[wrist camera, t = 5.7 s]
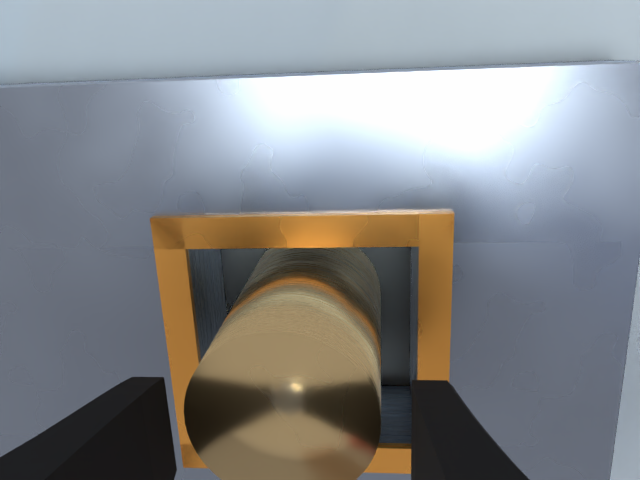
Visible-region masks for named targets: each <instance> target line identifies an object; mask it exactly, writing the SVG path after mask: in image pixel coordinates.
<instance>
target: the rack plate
mask: <svg viewBox="0 0 640 480" xmlns="http://www.w3.org/2000/svg"><path fill="white" fill-rule="evenodd" d="M337 247H411V303H410V386H381V434H380V439H379V444H378V447H377V450H376V453H375V455H374V457H373V459H372V461H371V463H370V464H369V466H368V467H367V468H366V470H365V471H364V472H363V473H362V474H361V475H360V476H359V477H358V478H357V479H356V480H411V423H412V380H447V381H448V382H449V383H450V384H451V385H452V386H453V387H454V389H455V390H456V392H457V393H458V394H459V396H460V397H461V399H462V400H463V401H464V403H465V404H466V406H467V407H468V408H469V410H470V411H471V412H472V414H473V415H474V416H475V417H476V419H477V420H478V421H479V423H480V424H481V425H482V426H483V428H484V429H485V430H486V431H487V432H488V434H489V435H490V436H491V437H492V438H493V440H494V441H495V442H496V443H497V444H498V445H499V446H500V448H501V449H502V450H503V451H504V452H505V453H506V455H507V456H508V457H509V458H510V459H511V460H512V461H513V462H514V463H515V465H516V466H517V467H518V468H519V469H520V470H521V471H522V472H523V473H524V474H525V475H526V476H527V477H528V478H529V479H530V480H610V473H611V466H612V459H613V451H614V444H615V436H616V429H617V421H618V414H619V406H620V399H621V392H622V384H623V377H624V369H625V362H626V354H627V347H628V339H629V332H630V325H631V317H632V310H633V302H634V295H635V287H636V280H637V272H638V265H639V258H640V61H625V60H604V61H579V62H554V63H528V64H503V65H478V66H453V67H427V68H402V69H377V70H352V71H326V72H301V73H276V74H251V75H226V76H200V77H175V78H150V79H125V80H99V81H74V82H49V83H24V84H0V457H1V456H3V455H5V454H6V453H8V452H10V451H12V450H13V449H15V448H17V447H18V446H20V445H22V444H23V443H25V442H27V441H29V440H30V439H32V438H34V437H35V436H37V435H39V434H40V433H42V432H43V431H45V430H47V429H48V428H50V427H51V426H53V425H54V424H56V423H58V422H59V421H61V420H62V419H64V418H65V417H67V416H69V415H70V414H72V413H73V412H75V411H76V410H78V409H80V408H81V407H83V406H84V405H86V404H87V403H89V402H91V401H92V400H94V399H95V398H97V397H98V396H100V395H102V394H103V393H105V392H106V391H108V390H110V389H111V388H113V387H115V386H116V385H118V384H120V383H121V382H123V381H125V380H127V379H129V378H131V377H164V380H165V387H166V394H167V401H168V409H169V416H170V423H171V430H172V437H173V445H174V452H175V459H176V466H177V472H176V475H175V478H174V480H221V479H220V478H219V477H218V476H216V475H215V474H214V473H213V472H212V471H211V470H210V469H209V468H208V467H207V466H206V465H205V464H204V463H203V461H202V460H201V458H200V457H199V456H198V454H197V453H196V451H195V449H194V447H193V445H192V444H191V441H190V439H189V436H188V434H187V430H186V425H185V420H184V399H185V395H186V390H187V387H188V384H189V382H190V379H191V377H192V376H193V374H194V372H195V370H196V369H197V367H198V365H199V363H200V362H201V360H202V358H203V357H204V355H205V353H206V351H207V350H208V348H209V346H210V344H211V343H212V341H213V339H214V338H215V336H216V334H217V332H218V331H219V329H220V327H221V326H222V324H223V322H224V320H225V319H226V317H227V311H226V301H225V291H224V281H223V270H222V260H221V250H220V249H240V248H337Z"/></svg>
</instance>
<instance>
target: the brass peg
mask: <svg viewBox="0 0 640 480" xmlns="http://www.w3.org/2000/svg"><path fill="white" fill-rule="evenodd" d="M184 420H185V425H186V430H187V434H188V436H189V439H190V441H191V444H192V445H193V447H194V449H195V451H196V453H197V454H198V456H199V457H200V458H201V460H202V461H203V463H204V464H205V465H206V466H207V467H208V468H209V469H210V470H211V471H212V472H213V473H214V474H215V475H216V476H218V477H219V478H220V479H221V480H356V479H357V478H358V477H359V476H360V475H361V474H362V473H363V472H364V471H365V470H366V468H367V467H368V466H369V464H370V463H371V461H372V459H373V457H374V455H375V453H376V450H377V447H378V444H379V439H380V434H381V289H380V282H379V279H378V275H377V273H376V270H375V268H374V266H373V265H372V263H371V261H370V260H369V259H368V257H367V256H366V255H365V254H364V253H363V252H362V251H361V250H360V249H359V248H358V247H337V248H269V249H268V250H267V251H266V252H265V253H264V254H263V256H262V257H261V258H260V260H259V262H258V264H257V265H256V267H255V269H254V270H253V272H252V274H251V276H250V277H249V279H248V281H247V282H246V284H245V286H244V288H243V289H242V291H241V293H240V295H239V296H238V298H237V300H236V301H235V303H234V305H233V307H232V308H231V310H230V312H229V313H228V315H227V317H226V319H225V320H224V322H223V324H222V326H221V327H220V329H219V331H218V332H217V334H216V336H215V338H214V339H213V341H212V343H211V344H210V346H209V348H208V350H207V351H206V353H205V355H204V357H203V358H202V360H201V362H200V363H199V365H198V367H197V369H196V370H195V372H194V374H193V376H192V377H191V379H190V382H189V384H188V387H187V390H186V395H185V399H184Z"/></svg>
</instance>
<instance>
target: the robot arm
mask: <svg viewBox="0 0 640 480" xmlns="http://www.w3.org/2000/svg"><path fill="white" fill-rule="evenodd" d="M176 472H177V466H176V459H175V452H174V445H173V437H172V430H171V423H170V416H169V409H168V401H167V394H166V387H165V380H164V377H131V378H129V379H127V380H125V381H123V382H121V383H120V384H118V385H116V386H115V387H113V388H111V389H110V390H108V391H106V392H105V393H103V394H102V395H100V396H98V397H97V398H95V399H94V400H92V401H91V402H89V403H87V404H86V405H84V406H83V407H81V408H80V409H78V410H76V411H75V412H73V413H72V414H70V415H69V416H67V417H65V418H64V419H62V420H61V421H59V422H58V423H56V424H54V425H53V426H51V427H50V428H48V429H47V430H45V431H43V432H42V433H40V434H39V435H37V436H35V437H34V438H32V439H30V440H29V441H27V442H25V443H23V444H22V445H20V446H18V447H17V448H15V449H13V450H12V451H10V452H8V453H6V454H5V455H3V456H1V457H0V480H174V478H175V475H176ZM411 480H530V479H529V478H528V477H527V476H526V475H525V474H524V473H523V472H522V471H521V470H520V469H519V468H518V467H517V466H516V465H515V463H514V462H513V461H512V460H511V459H510V458H509V457H508V456H507V455H506V453H505V452H504V451H503V450H502V449H501V448H500V446H499V445H498V444H497V443H496V442H495V441H494V440H493V438H492V437H491V436H490V435H489V434H488V432H487V431H486V430H485V429H484V428H483V426H482V425H481V424H480V423H479V421H478V420H477V419H476V417H475V416H474V415H473V414H472V412H471V411H470V410H469V408H468V407H467V406H466V404H465V403H464V401H463V400H462V399H461V397H460V396H459V394H458V393H457V392H456V390H455V389H454V387H453V386H452V385H451V384H450V383H449V382H448V381H447V380H412V423H411Z"/></svg>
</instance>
